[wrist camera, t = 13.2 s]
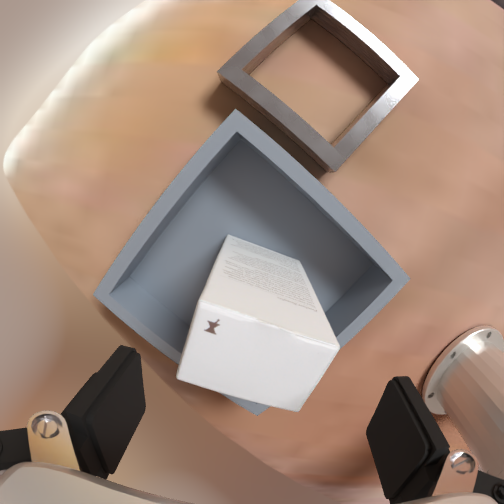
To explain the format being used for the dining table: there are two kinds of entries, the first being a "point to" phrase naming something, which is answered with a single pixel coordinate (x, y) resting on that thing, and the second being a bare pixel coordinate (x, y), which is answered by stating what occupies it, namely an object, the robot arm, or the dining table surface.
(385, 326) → the dining table surface
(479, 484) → the robot arm
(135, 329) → the bin
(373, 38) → the collar
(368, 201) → the dining table surface
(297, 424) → the dining table surface
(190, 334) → the skincare box
